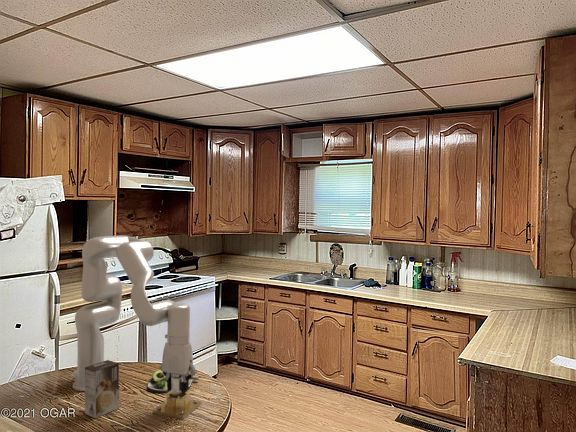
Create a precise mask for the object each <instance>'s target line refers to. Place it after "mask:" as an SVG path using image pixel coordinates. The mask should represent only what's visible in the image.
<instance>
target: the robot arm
mask: <svg viewBox="0 0 576 432" xmlns="http://www.w3.org/2000/svg"><path fill="white" fill-rule="evenodd" d="M154 253H155V252H154V248H153V246H152V245H151V243H150V242H149V241H146V240H144V239H140V238H136V237H134V236H129V235H103V236H96V237H92V238H90V239H88V240H87V241H86V242H85V243H84V244H83V247H82V251H81V256H82V264H83V265H82V267H83V268H82V279H81V291H80V292H81V298H82V299H83V301H84V302H87V303H88V302H89V303H91V304H88V305H84V306H82V307H80V308H79V309H78V310H77V311H76V312H75V315H74V324H75V328H76V335H77V336H76V337H77V345H76V346H77V355H76V356H77V358H76V359H77V362H76V364H77V365H76V367H77V370H74V371H73V372H72V374H71V375H70V378H72V379H74V380H75V381H74V382H73V383H72V388H73V389H74V390H75V391H80V392H85V367H88V366H91V365H94V364H97V363H100V362H103V361H105V338H104V334H103V333H102V332H101V329H100V328H102V327H105V326H108V325H112V324H115V323H116V322H117V321H118V320H119V318H120V315H121V308H122V296H123V285H122V281H121V280H120V278H119V277H118V276H117V275H114V274H107V271H108V266H107V264H106V261H105V260H104V259H110V258H111V259H112V258H117V260H118V261H119V264H120V265H121V267H122V269H123V270H124V272H125V274H126V276H127V277H128V280H129V281H130V283H131V285H132V286H131V290H130V301H131V302H130V303H131V307H132V309H133V311H134V314H135V315H136V316H137V318H138V319H139V321H140V322H141V323H142V324H143V325H145V326H147V327H153V326H157V325H159V324H160V325H161V324H163V323H167V334H164V338H165V339H166V341H167V342H165V343H164V347H163V353H162V362H161V364H160V365H159V367H158V368H159V369H160V370H161V371H162V372H163V374H164V375H165V377H166V379H167V391H170V390H171V373H173V374H179V375H182V379H183V382H182V385H181V393H182V394H184V393H185V392H187V391H189V388H190V387H189V380H190V379H191V378H192V377H195V375H197V374H198V370H197V369H196V368H195V366H194V355H193V349H192V343H191V342H190V337H191V336H190V327H191V324H190V323H191V322H190V320H191V308H190V305H189V304H187V303H184V302H176V301H173V300H171V299H164V300H161V301H156V302H153V303H151V302H150V300H149V298H148V296H147V294H146V285H147V284H148V283H150V282H151V281H152V279H153V278H154V276H155V272H154V271H153V269H152V266H150V264H149V261H151V260H152V259H153V257H154ZM94 302H95V303H94ZM159 369H158V370H159ZM185 374H186V375H185Z"/></svg>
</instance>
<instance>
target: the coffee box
mask: <svg viewBox="0 0 576 432" xmlns="http://www.w3.org/2000/svg"><path fill="white" fill-rule="evenodd" d="M119 365H120V363H119V362H116V361H113V360H109V359H106V360H104V361H103V362H100V363H97V364H94V365H91V366H88V367H85V391H84V414H85V415H87V416H90V417H92V418H94V419H98V418H100V417H102V416H104V415H106V414H109V413H111V412H113V411H115V410H117V409H119V407H120V403H119V402H120V396H119V395H120V393H119V392H120V391H119V389H120V388H119V387H120V386H119V385H120V384H119V383H120V381H119V380H120V379H119V375H120V374H119V372H120V371H119V370H120V369H119V368H120V366H119Z"/></svg>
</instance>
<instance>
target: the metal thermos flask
mask: <svg viewBox="0 0 576 432" xmlns="http://www.w3.org/2000/svg"><path fill="white" fill-rule="evenodd" d="M182 382H183V379H182V375H179V374H173V373H171V397H173V398H180V397H183V394H182V393H181V385H182Z"/></svg>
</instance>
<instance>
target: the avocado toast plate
mask: <svg viewBox="0 0 576 432" xmlns="http://www.w3.org/2000/svg"><path fill="white" fill-rule="evenodd" d="M185 375H186V374H185ZM198 380H200V379H199V377H196V376H193V377H192V378H191V379H190V380H189V388H190V387H191V385H192V383H193V382H195V381H198ZM146 389H147V390H149V392H151V393H157V394H163V393H168V392H170V391H171V390H170V391H167V379H166V377H165V375H164V374H163V372H162V371H161V370H160V369H157V370H155V371H154V372H153V373H152V375H151V377H150V379H149V382H148V384H147V386H146Z"/></svg>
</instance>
